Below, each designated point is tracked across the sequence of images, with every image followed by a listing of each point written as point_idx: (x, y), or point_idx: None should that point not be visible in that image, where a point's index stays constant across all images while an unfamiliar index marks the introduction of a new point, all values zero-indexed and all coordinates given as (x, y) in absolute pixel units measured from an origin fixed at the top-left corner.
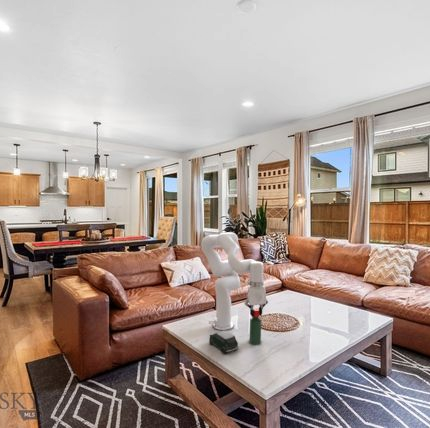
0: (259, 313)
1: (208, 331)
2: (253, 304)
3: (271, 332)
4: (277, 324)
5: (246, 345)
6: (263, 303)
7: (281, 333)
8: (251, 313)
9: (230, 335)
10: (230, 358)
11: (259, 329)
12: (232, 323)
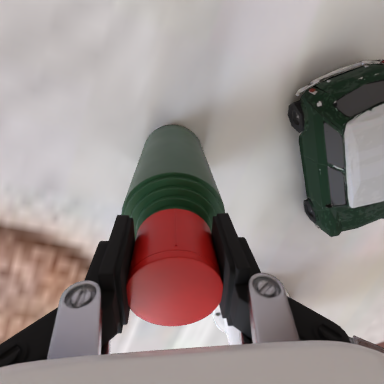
0: (136, 245)
1: (320, 279)
2: (316, 352)
3: (58, 225)
4: (10, 288)
5: (228, 131)
6: (5, 380)
7: (4, 206)
8: (244, 245)
9: (376, 126)
10: (368, 13)
11: (155, 151)
12: (215, 314)
